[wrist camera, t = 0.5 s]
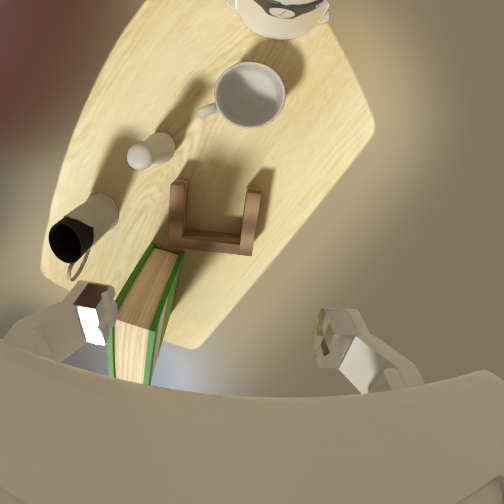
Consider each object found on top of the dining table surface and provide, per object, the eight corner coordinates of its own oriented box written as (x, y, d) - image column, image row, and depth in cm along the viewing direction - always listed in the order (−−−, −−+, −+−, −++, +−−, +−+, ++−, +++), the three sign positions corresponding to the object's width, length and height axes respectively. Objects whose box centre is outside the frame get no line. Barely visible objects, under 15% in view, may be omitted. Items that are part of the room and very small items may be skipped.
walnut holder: (176, 178, 50) (170, 184, 46) (259, 188, 51) (261, 194, 47) (173, 236, 55) (168, 246, 51) (250, 245, 57) (251, 256, 53)
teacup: (274, 66, 41) (279, 57, 34) (283, 122, 46) (291, 123, 39) (196, 79, 41) (187, 72, 34) (206, 135, 46) (200, 138, 39)
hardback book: (151, 242, 56) (106, 316, 34) (184, 252, 57) (155, 332, 36) (141, 305, 63) (109, 382, 42) (170, 314, 64) (147, 395, 43)
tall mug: (121, 198, 51) (86, 227, 38) (113, 257, 57) (84, 296, 44) (86, 188, 49) (46, 213, 36) (81, 246, 55) (48, 281, 42)
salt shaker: (172, 127, 45) (149, 130, 34) (182, 155, 48) (163, 167, 36) (144, 138, 46) (115, 146, 34) (154, 166, 48) (128, 181, 37)
